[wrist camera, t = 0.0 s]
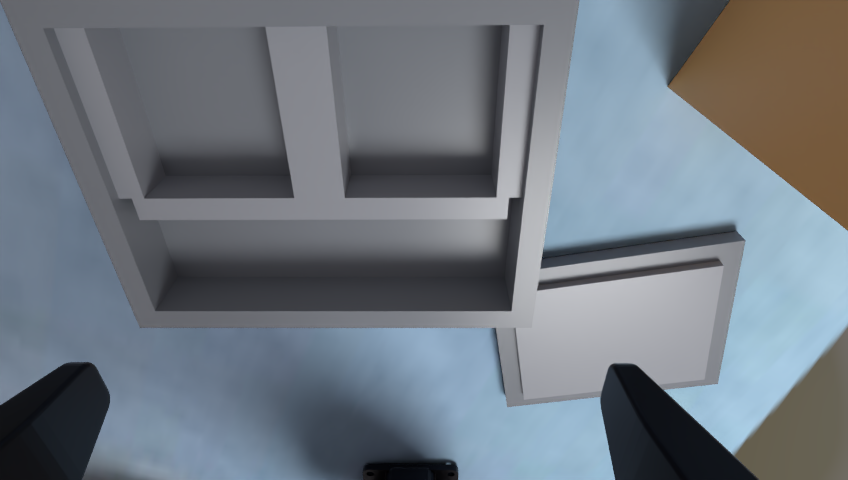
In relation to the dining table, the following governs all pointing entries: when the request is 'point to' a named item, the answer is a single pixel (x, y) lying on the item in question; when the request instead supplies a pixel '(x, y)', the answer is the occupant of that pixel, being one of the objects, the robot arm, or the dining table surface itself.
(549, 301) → the lid
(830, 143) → the post
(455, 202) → the tray
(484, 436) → the dining table surface
